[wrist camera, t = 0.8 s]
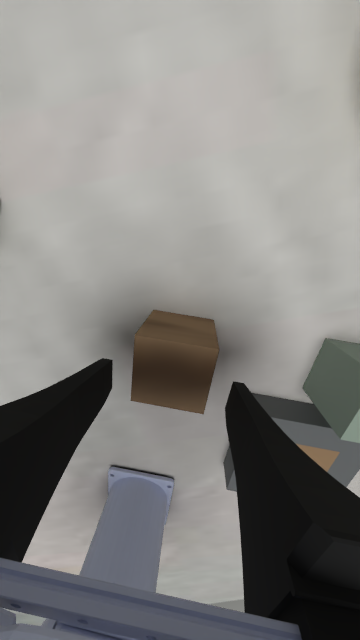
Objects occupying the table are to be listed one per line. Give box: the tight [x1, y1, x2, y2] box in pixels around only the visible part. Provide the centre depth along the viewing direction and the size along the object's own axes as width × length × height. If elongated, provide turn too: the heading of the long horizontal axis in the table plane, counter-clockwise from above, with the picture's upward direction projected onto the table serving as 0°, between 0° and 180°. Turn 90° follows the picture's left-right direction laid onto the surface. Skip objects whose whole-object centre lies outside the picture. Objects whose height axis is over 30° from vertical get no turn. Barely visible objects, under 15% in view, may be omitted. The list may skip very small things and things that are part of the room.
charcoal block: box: [224, 393, 360, 492], centre depth 18 cm, size 10×10×3 cm
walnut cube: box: [131, 310, 219, 414], centre depth 14 cm, size 5×5×5 cm
